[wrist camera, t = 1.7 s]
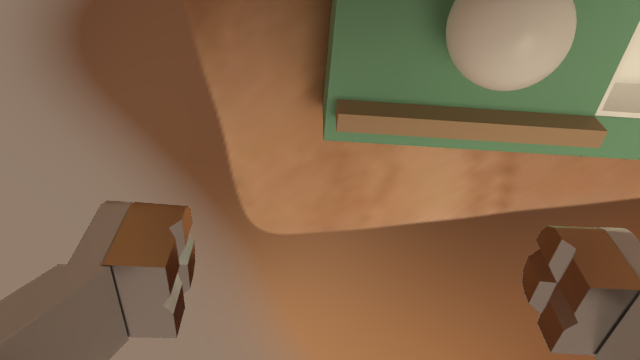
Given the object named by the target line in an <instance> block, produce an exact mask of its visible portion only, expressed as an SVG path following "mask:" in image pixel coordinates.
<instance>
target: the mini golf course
mask: <svg viewBox="0 0 640 360" xmlns="http://www.w3.org/2000/svg"><path fill="white" fill-rule="evenodd" d="M573 1H574V4H575V9H576V17H577V24H576V32H575V37H574V40H573V43H572V46H571V48H570V50H569V52H568V54H567V55H566V57H565V58H564V60H563V61H562V62H561V64H560V65H559V66H558V67H557V68H556V69H555V70H554V71H553V72H552V73H551V74H550V75H548V76H547V77H546V78H544V79H543V80H541V81H539V82H538V83H536V84H533V85H531V86H529V87H526V88H523V89H519V90H513V91H496V90H490V89H486V88H483V87H481V86H478V85H476V84H474V83H473V82H471V81H469V80H468V79H467V78H466V77H464V76H463V75H462V74H461V73H460V72H459V70H458V69H457V68H456V66H455V65H454V63H453V62H452V60H451V57H450V55H449V52H448V48H447V44H446V24H447V19H448V16H449V13H450V10H451V8H452V5H453V3H454V2H455V0H332V7H331V18H330V29H329V40H328V51H327V62H326V73H325V84H324V96H323V140H329V141H345V142H362V143H378V144H394V145H410V146H426V147H442V148H458V149H474V150H490V151H506V152H523V153H539V154H555V155H571V156H587V157H603V158H619V159H635V160H640V0H573Z"/></svg>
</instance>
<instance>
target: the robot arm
mask: <svg viewBox="0 0 640 360" xmlns="http://www.w3.org/2000/svg"><path fill="white" fill-rule="evenodd" d="M191 226H192V216H191V209H190V208H189V207H188V206H180V205H167V204H153V203H141V202H134V203H132V202H120V201H105V202H104V203H103V204H101V205H100V207H99V209H98V210H97V212H96V214H95V216H94V218H93V219H92V221H91V223H90V225H89V226H88V228H87V230H86V232H85V234H84V235H83V237H82V239H81V241H80V243H79V244H78V246H77V248H76V250H75V251H74V253H73V255H72V257H71V259H70V260H69V262H68V264H67V265H64V264H58V265H57V266H55V267H53V268H52V269H50V270H48V271H47V272H45V273H44V274H42V275H41V276H39V277H37V278H36V279H34V280H33V281H31V282H29V283H28V284H26V285H24V286H23V287H21V288H20V289H18V290H16V291H15V292H14V293H12V294H10V295H9V296H7V297H5V298H4V299H2V300H0V360H109V359H110V358H111V357H112V356H113V355H114V354H115V353H116V352H117V351H118V350H119V349H120V348H121V347H122V346H123V345H124V344H125V343H126V342H127V341H128V340H129V339H128V337H153V338H158V337H159V338H160V337H162V338H177V335H178V332H179V328H180V324H181V321H182V317H183V313H184V309H185V303H184V295H183V294H184V293H185V292H186V291H187V290H189V289H190V287H191V283H192V279H193V274H194V265H195V242H194V239H193V238H192V237H191V236H190V235H189V233H190V229H191ZM536 241H537V244H538V246H539V248H540V249H539V250H537V251H536V252H534V253H533V254H531V255H530V256H528V258H527V261H526V263H525V266H524V268H523V279H522V283H523V288H524V293H525V295H526V298H527V300H528V303H529V304H530V305H531V306H532V307H534V308H535V309H536V310H537V311H539V312H540V313H541V314H540V317H539V319H538V322H537V323H538V325H539V328H540V330H541V332H542V335H543V337H544V339H545V341H546V343H547V346H548V348H549V350H550V352H551V353H564V354H580V355H594V356H595V359H596V360H640V242H639V241H638V240H637V239H636V237H635V236H634V234H633V233H632V232H630V231H628V230H627V229H625V228H604V227H598V228H592V227H591V228H590V227H570V226H549V225H547V226H546V227H544V228H543V229H542V230H541V231H540V233H539V235H538V237H537V239H536Z"/></svg>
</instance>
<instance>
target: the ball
mask: <svg viewBox="0 0 640 360" xmlns="http://www.w3.org/2000/svg"><path fill="white" fill-rule="evenodd" d="M576 24H577V17H576V9H575V4H574V1H573V0H455V2H454V3H453V5H452V8H451V10H450V13H449V16H448V19H447V24H446V44H447V48H448V52H449V55H450V57H451V60H452V62H453V63H454V65H455V66H456V68H457V69H458V70H459V72H460V73H461V74H462V75H463V76H464V77H466V78H467V79H468V80H469V81H471V82H473V83H474V84H476V85H478V86H481V87H483V88H486V89H490V90H496V91H513V90H519V89H523V88H526V87H529V86H531V85H533V84H536V83H538V82H539V81H541V80H543V79H544V78H546V77H547V76H548V75H550V74H551V73H552V72H553V71H554V70H555V69H556V68H557V67H558V66H559V65H560V64H561V62H562V61H563V60H564V58H565V57H566V55H567V54H568V52H569V50H570V48H571V46H572V43H573V40H574V37H575V32H576Z"/></svg>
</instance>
